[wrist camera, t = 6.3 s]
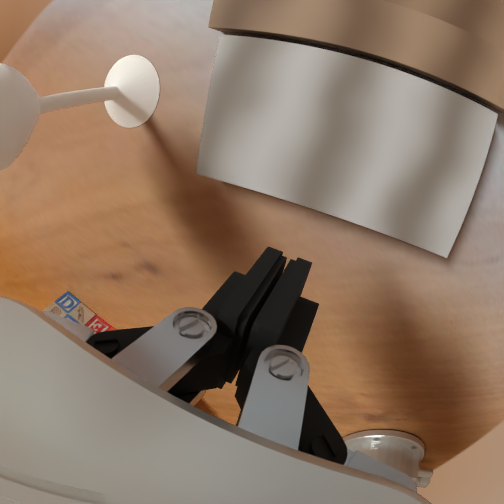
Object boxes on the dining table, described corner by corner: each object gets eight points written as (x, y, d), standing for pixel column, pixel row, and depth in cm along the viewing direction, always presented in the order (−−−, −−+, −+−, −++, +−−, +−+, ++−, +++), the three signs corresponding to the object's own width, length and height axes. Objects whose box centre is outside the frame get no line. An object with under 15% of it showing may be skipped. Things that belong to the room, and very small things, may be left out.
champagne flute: (93, 98, 25) (-149, 188, 5) (128, 40, 21) (-161, 96, 1) (133, 143, 25) (-131, 276, 6) (174, 84, 22) (-167, 188, 2)
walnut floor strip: (515, 19, 10) (527, 13, 8) (500, 111, 14) (511, 113, 12) (240, -53, 14) (228, -62, 13) (221, 31, 18) (208, 27, 17)
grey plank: (487, 113, 15) (498, 114, 13) (441, 246, 19) (446, 258, 18) (232, 39, 18) (219, 34, 17) (208, 168, 23) (195, 173, 22)
